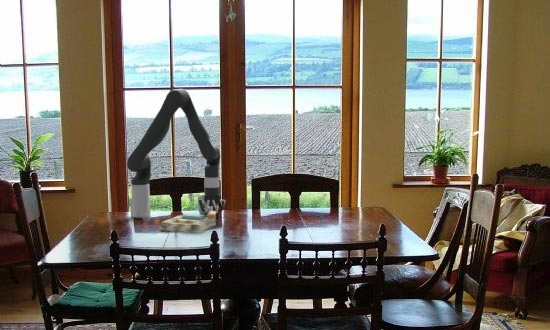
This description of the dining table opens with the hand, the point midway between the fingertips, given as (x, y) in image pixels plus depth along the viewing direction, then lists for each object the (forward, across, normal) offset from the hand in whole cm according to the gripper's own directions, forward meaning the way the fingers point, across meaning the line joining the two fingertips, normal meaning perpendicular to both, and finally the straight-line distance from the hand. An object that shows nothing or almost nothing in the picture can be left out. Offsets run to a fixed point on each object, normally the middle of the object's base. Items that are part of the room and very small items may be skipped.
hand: (212, 219), depth 274 cm
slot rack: (+1, -7, -14) cm, 16 cm away
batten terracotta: (+1, 0, 0) cm, 1 cm away
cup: (+1, -9, +17) cm, 19 cm away
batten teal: (0, -7, -10) cm, 12 cm away
